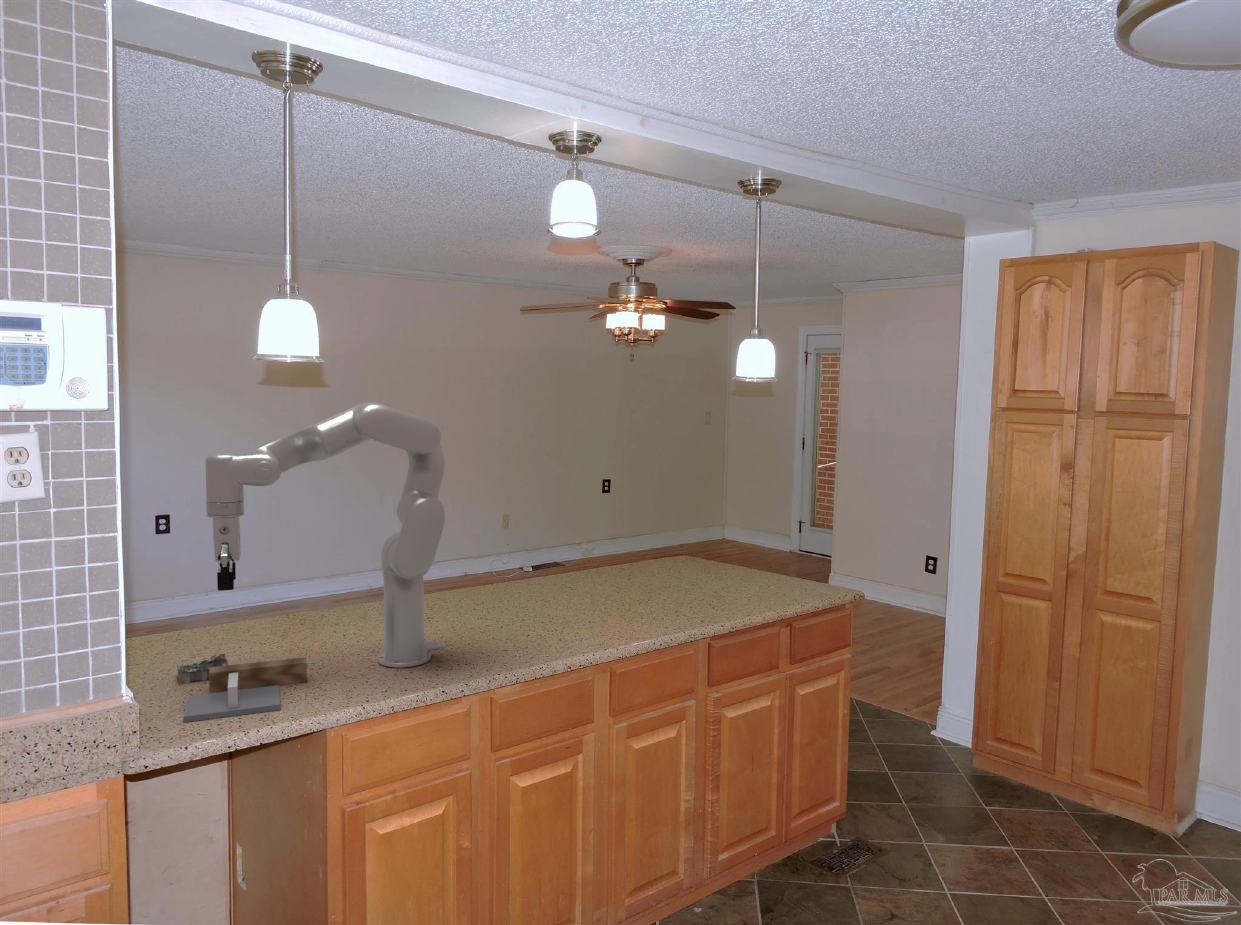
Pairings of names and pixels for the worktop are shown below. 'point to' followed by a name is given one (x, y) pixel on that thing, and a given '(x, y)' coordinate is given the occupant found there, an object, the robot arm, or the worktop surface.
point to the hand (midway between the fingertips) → (226, 584)
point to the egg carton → (200, 668)
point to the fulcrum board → (221, 703)
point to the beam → (259, 674)
